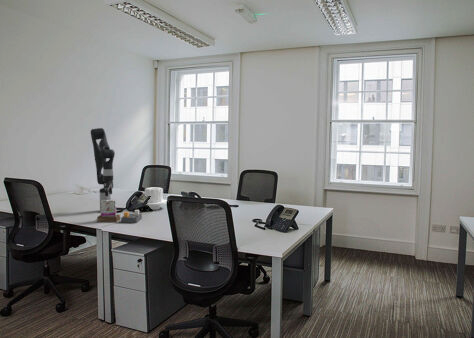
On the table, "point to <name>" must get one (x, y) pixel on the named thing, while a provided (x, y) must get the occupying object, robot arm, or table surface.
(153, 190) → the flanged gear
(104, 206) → the candy bar box
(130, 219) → the breaker panel
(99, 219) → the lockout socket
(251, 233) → the table surface
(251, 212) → the table surface
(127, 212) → the breaker tagged
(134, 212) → the breaker
